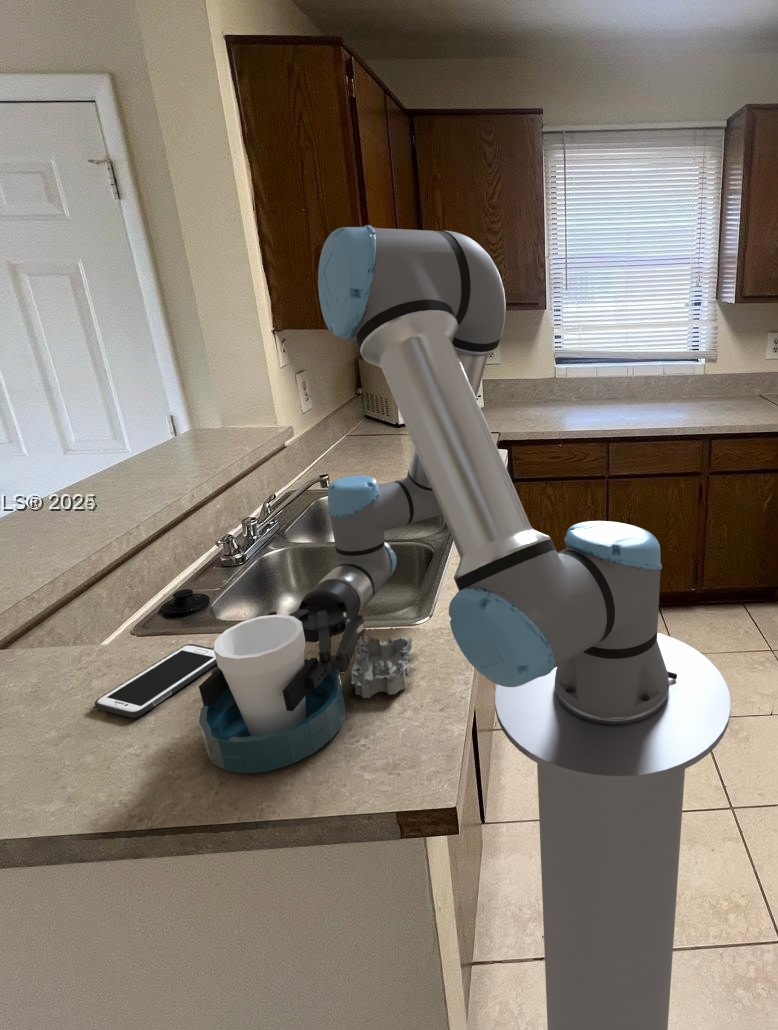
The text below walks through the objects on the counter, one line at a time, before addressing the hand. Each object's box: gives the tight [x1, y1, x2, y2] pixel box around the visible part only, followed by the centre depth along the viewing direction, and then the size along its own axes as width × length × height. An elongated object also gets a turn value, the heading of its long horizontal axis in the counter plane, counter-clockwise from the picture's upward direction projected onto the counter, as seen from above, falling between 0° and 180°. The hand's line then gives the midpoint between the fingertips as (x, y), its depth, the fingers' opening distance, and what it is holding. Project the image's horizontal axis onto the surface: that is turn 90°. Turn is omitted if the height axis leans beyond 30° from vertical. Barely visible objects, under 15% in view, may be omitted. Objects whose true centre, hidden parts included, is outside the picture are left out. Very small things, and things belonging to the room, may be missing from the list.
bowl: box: [198, 658, 347, 774], centre depth 75 cm, size 16×16×5 cm
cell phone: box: [94, 643, 217, 719], centre depth 85 cm, size 8×15×1 cm, turn 163°
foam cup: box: [213, 613, 306, 736], centre depth 74 cm, size 10×9×13 cm
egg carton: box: [351, 633, 413, 699], centre depth 86 cm, size 11×8×4 cm
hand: (245, 698), depth 69 cm, fingers closed on foam cup, 9 cm apart
